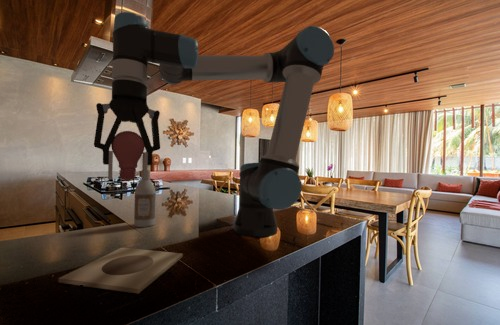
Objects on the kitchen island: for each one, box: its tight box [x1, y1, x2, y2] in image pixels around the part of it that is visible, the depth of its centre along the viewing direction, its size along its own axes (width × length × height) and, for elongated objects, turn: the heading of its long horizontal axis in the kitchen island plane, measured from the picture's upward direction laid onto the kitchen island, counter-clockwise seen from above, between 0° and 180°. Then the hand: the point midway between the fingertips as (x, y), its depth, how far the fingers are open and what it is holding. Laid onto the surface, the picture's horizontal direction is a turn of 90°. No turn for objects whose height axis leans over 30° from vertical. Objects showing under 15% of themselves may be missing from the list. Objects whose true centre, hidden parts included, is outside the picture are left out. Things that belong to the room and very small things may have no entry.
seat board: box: [58, 247, 184, 294], centre depth 53 cm, size 17×17×1 cm
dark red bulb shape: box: [110, 130, 145, 182], centre depth 58 cm, size 7×7×12 cm
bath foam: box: [133, 169, 157, 228], centre depth 87 cm, size 7×7×20 cm
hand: (128, 178), depth 58 cm, fingers closed on dark red bulb shape, 7 cm apart
